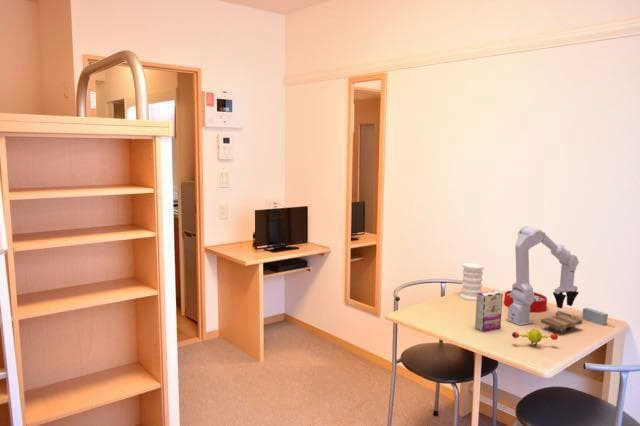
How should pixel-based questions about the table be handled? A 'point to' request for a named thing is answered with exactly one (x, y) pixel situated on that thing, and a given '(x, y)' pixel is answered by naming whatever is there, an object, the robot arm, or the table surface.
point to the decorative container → (471, 281)
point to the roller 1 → (562, 313)
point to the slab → (561, 321)
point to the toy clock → (535, 307)
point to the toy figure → (534, 336)
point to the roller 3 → (571, 328)
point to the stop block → (595, 316)
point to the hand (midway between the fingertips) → (564, 306)
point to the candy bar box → (488, 310)
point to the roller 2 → (557, 329)
